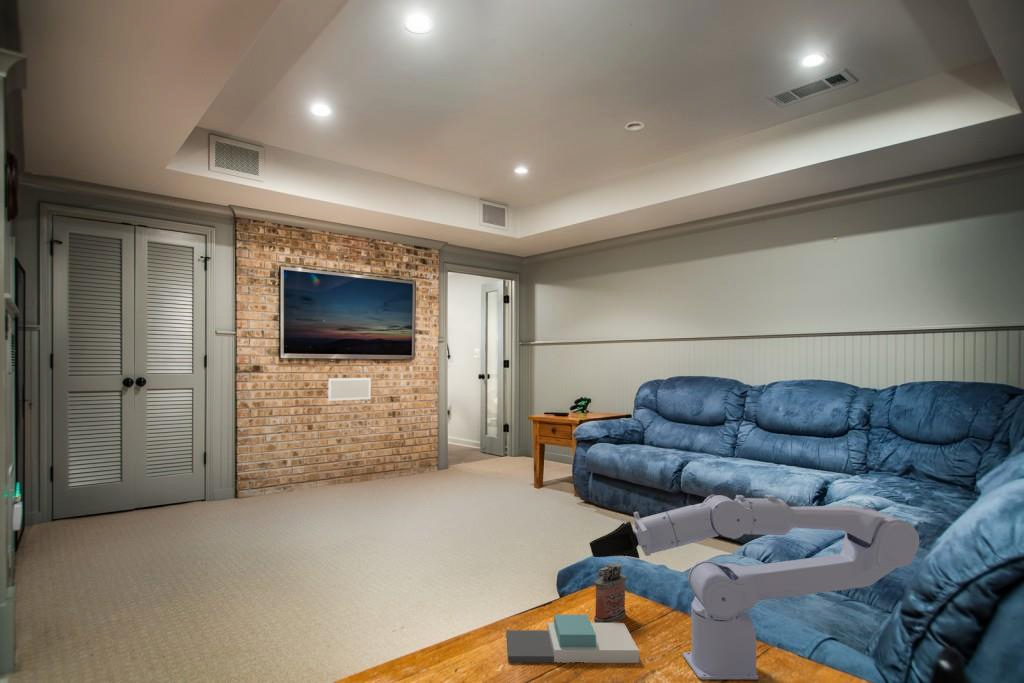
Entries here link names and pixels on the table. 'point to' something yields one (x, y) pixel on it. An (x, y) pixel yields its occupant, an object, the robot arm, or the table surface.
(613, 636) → the plinth
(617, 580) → the lighter
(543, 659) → the mat
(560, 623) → the tile
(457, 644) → the table surface
